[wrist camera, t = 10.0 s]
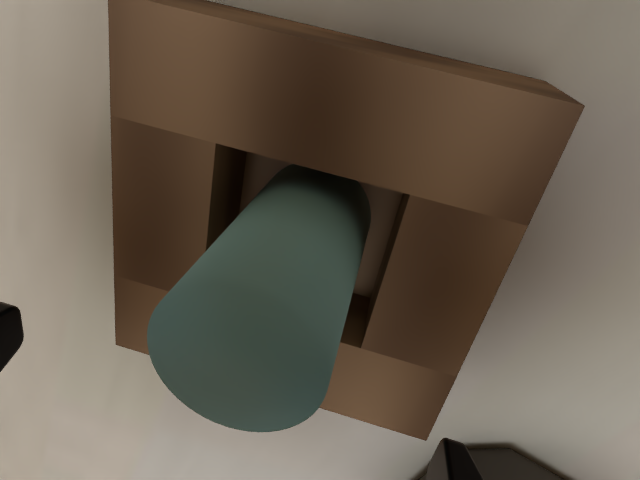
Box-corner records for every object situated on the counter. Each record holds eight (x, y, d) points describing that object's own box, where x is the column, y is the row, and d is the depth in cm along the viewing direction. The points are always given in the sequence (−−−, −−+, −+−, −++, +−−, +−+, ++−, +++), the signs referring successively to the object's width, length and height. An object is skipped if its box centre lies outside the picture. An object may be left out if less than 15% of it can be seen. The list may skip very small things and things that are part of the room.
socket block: (545, 81, 14) (584, 105, 11) (426, 364, 20) (426, 440, 16) (180, -6, 15) (107, -9, 12) (167, 287, 21) (115, 344, 17)
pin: (356, 274, 17) (309, 452, 10) (255, 246, 18) (145, 400, 11) (383, 177, 16) (349, 314, 9) (270, 147, 16) (148, 256, 9)
